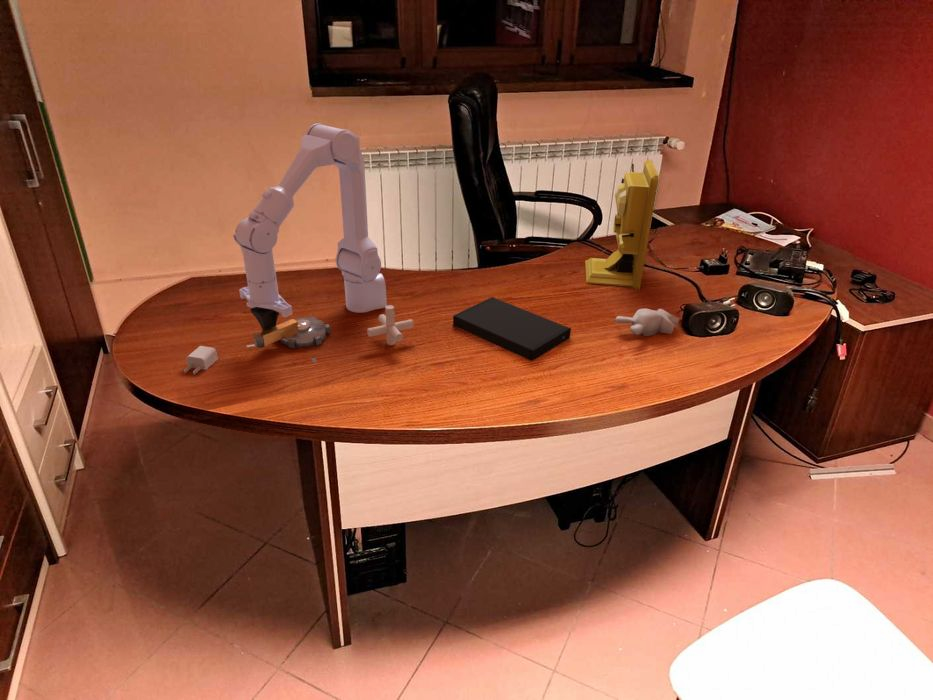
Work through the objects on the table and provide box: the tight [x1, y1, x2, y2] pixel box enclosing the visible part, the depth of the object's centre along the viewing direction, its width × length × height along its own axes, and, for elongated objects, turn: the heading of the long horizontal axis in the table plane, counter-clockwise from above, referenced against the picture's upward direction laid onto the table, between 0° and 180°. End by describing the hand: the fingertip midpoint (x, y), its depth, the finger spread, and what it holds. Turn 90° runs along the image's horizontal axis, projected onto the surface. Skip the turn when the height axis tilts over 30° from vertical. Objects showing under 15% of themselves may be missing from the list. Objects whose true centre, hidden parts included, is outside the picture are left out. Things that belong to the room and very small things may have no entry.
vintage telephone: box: [584, 158, 659, 291], centre depth 173 cm, size 31×14×30 cm, turn 172°
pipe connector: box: [366, 304, 415, 346], centre depth 139 cm, size 10×10×10 cm
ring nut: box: [253, 316, 331, 350], centre depth 139 cm, size 17×12×4 cm
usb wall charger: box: [183, 345, 219, 375], centre depth 131 cm, size 4×7×4 cm, turn 167°
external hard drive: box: [452, 296, 572, 362], centre depth 149 cm, size 14×23×3 cm, turn 48°
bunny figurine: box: [613, 308, 680, 337], centre depth 150 cm, size 10×5×15 cm
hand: (270, 336), depth 138 cm, fingers closed
